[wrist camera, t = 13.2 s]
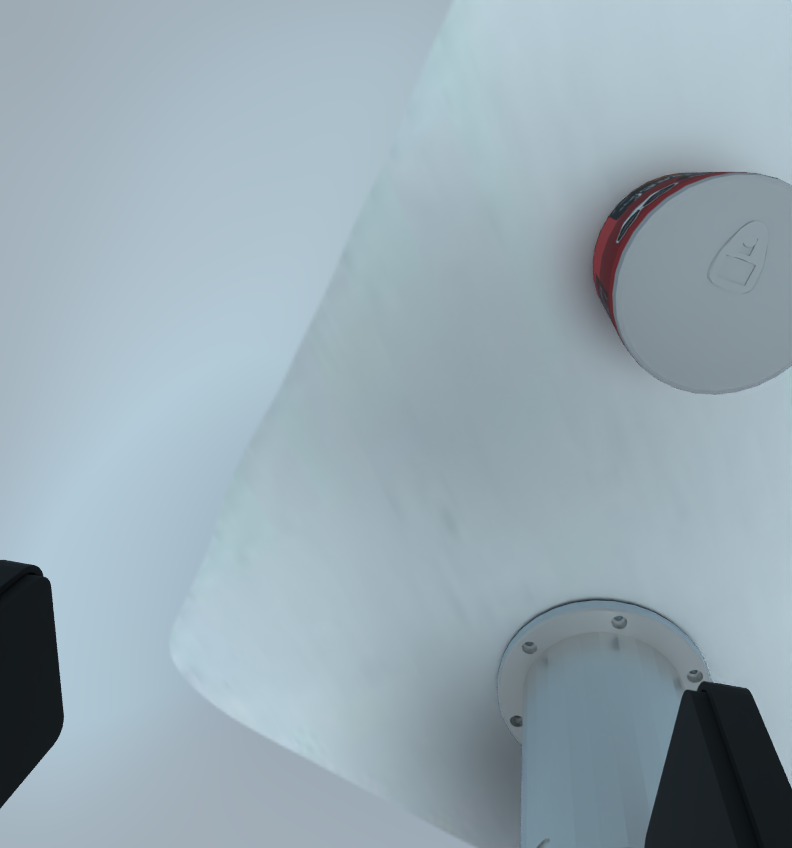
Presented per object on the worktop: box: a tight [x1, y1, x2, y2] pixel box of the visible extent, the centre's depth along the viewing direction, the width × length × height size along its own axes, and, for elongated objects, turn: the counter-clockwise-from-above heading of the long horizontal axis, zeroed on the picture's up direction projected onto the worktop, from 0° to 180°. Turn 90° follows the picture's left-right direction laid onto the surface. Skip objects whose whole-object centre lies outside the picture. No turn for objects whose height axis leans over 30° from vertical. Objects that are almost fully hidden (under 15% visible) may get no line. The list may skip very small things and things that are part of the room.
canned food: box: [593, 172, 792, 394], centre depth 31 cm, size 8×8×11 cm
